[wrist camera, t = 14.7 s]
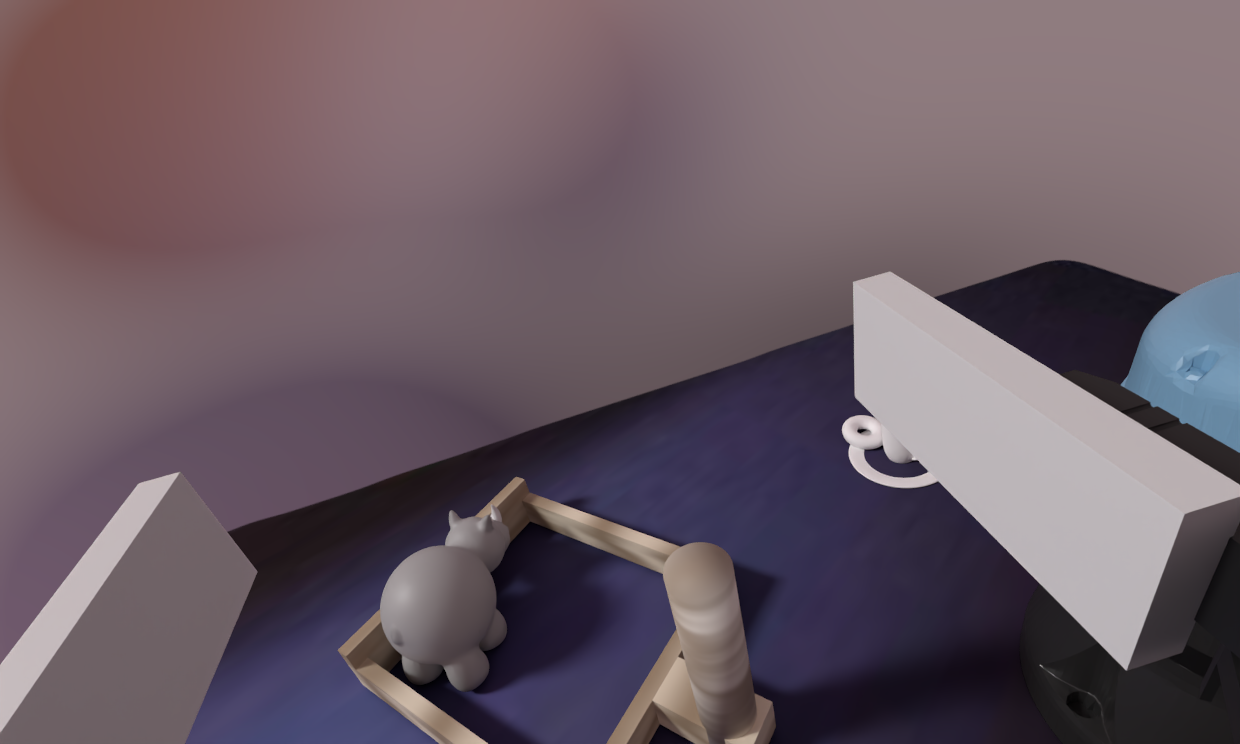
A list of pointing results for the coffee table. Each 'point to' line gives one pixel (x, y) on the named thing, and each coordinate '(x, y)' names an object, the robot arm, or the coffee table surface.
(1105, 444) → the robot arm
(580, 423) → the coffee table surface
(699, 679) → the pull frame
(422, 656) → the chubby cartoon animal
